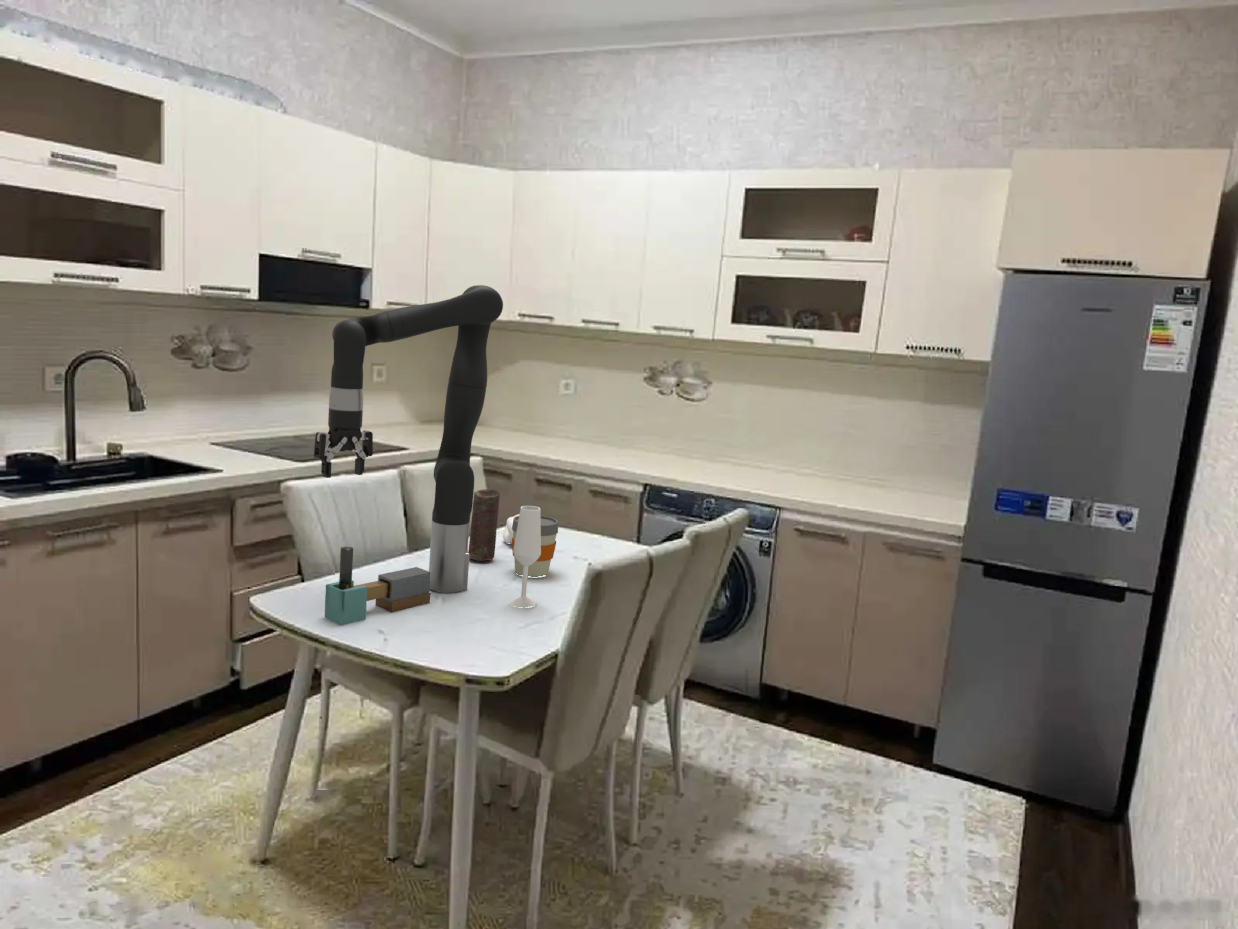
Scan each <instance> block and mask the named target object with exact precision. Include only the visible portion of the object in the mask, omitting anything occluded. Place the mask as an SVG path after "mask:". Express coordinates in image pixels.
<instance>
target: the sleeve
mask: <svg viewBox="0 0 1238 929" xmlns="http://www.w3.org/2000/svg"><path fill="white" fill-rule="evenodd" d="M377 578H378V579H377V581H379V580H386V581H388V582H390V595H389V596H387V597H383V598H378V599H375V607H379V609H380V608H381V609H383V610H384V611H386V612H389V613H391V614H392V613H395V612H401V611H404V610H409V609H412V608H416V607H420V606H423V605H428V604H431V596H432V595H431V592H430V589H429V588H430V572H429V570H426V569H423V568H421V567H418V566H415V567H410V568H405V569H401V570H396V571H391V572H386V573H381V574H378V576H377Z"/></svg>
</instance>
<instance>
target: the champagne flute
mask: <svg viewBox="0 0 1238 929" xmlns="http://www.w3.org/2000/svg"><path fill="white" fill-rule="evenodd" d="M519 514H520V515H519V520H518V526H517V532H516V538H515V543H514V549H513V551H512V555H513V554H514V556H515V558H516V559H517V560H518V561H519V562H520V563H521V564H522V565H523V566H524V567H523V577H522V581H521V592H520V594H521V595H520V597H517V598H515V599H512V600H511V601H509V603H510V604H509V606H511V605H512V606H511V607H513V606H516V607H523V608H525V607H528V606H529V607H530V606H535V603H536V602H535V601H534V600H532V599H531V598H528V596H527V591H528V590H527V588H528V578H527V577H528V566H529V565H531V564H533V563H534V562H535V561H536V560H537V559H538V558H539V557H540V555H541V516H542V515H541V508H540V507H539V506H534V505H522V506H520V509H519ZM514 556H513V557H514ZM534 602H535V603H534Z"/></svg>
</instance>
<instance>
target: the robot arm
mask: <svg viewBox="0 0 1238 929" xmlns="http://www.w3.org/2000/svg"><path fill="white" fill-rule="evenodd" d="M503 309H504V302H503V299H502V296H501V295H500V293H499V292H498V291H497V290H496V289H495V288H493V287H491V286H488V285H484V284H481V285H480V284H478V285H472V286H470V287H468V288H466V290H464V292H462V294H460V295H457V296H455V297H451V298H449V299H445V300H444V299H443V300H441V301H436V302H430V303H422V304H414V305H409V306H404V307H399V308H394V309H390V310H386V311H381V312H378V313H375V314H372V315H367V316H360V317H354V318H348V319H343V320H341V321H339V322H337V323H336V324H335V326H334V327H333V329H332V340H333V364H332V366H331V367H332V368H331V374H330V375H331V377H330V390H329V396H328V397H329V398H328V418H327V419H328V420H327V425H328V428H329V429H328V432H327V433H323V432H320V431H319V432H318V431H317V432H316V433H315V436H314V448H313V458H315V459H317V460H320V461H321V467H320V468H321V471H320V472H321V475H322V476H323V477H324V478H327V479H328V478H332V460H333V458H334V457H335V456H336V455H337V454H338V453H339V452H345V451H349V452H350V451H352V453H354V456H355V457H356V458H355V459H354V474H355V475H358V476H361V475H363V473H364V472H365V464H366V463H365V460H366V459H367V458H368V457H372V456H373V455H374V452H373V451H374V450H373V447H374V444H373V443H374V441H373V440H374V436H373V435H374V434H373V431H369V430H367V429H366V430H362V431H361V429H362V427H363V414H364V413H363V412H364V392H363V390H364V388H363V386H364V360H365V353H366V347H368V346H371V345H375V344H379V343H386V344H387V343H390V342H395V341H400V340H403V339H404V340H405V339H408V338H413V337H416V336H419V335H420V336H421V335H424V334H426V333H430V332H434V331H437V330H442V329H447V328H451V327H457V328H458V329H457V337H456V338H457V340H456V345H455V348H454V353H453V357H452V362H451V367H450V372H449V377H448V382H447V390H446V395H445V405H444V414H443V415H444V416H443V417H444V418H443V432H442V437H441V442H440V446H439V450H438V455H437V458H436V461H435V464H434V468H433V479H434V481H435V489H434V503H433V508H432V513H431V528H430V529H431V531H430V532H431V533H430V545H429V546H430V548H429V549H430V550H429V562H428V571H429V572H430V588H429V590H431V591H433V592H437V593H442V594H445V593H447V594H451V593H459V592H463V591H468V582H469V581H468V580H469V567H470V566H469V565H470V558H469V552H468V550H469V539H470V524H471V523H470V521H471V515H472V511H473V500H474V492H475V491H474V490H475V472H474V470H473V469H472V467H471V452H472V451H471V449H472V441H473V437H474V433H475V430H476V428H477V425H478V423H479V421H480V417H481V414H482V411H483V408H484V404H485V398H486V392H487V385H488V361H487V358H488V357H487V346H488V338H489V335H490V333H489V332H490V329H491V325H492V323H494V322H495V321H496V320H498V319H499V317H500V316H501V314H502V313H503ZM361 440H362V441H361ZM360 441H361V442H362V443H360ZM326 443H328V444H327V445H326ZM361 444H362V445H361Z"/></svg>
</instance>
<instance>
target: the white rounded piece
mask: <svg viewBox="0 0 1238 929" xmlns="http://www.w3.org/2000/svg"><path fill="white" fill-rule="evenodd" d="M519 515H520V513H518V514H516V515H514V516H510V517H508V518H507V520H506V525H505V527H504V529H503V533H502V540H503V541H505V542H506V543H505V542H504V543H505V544H507V543H510V544H509V545H512V538H513V530H512V525H513V520H514V517H516V516H519Z"/></svg>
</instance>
